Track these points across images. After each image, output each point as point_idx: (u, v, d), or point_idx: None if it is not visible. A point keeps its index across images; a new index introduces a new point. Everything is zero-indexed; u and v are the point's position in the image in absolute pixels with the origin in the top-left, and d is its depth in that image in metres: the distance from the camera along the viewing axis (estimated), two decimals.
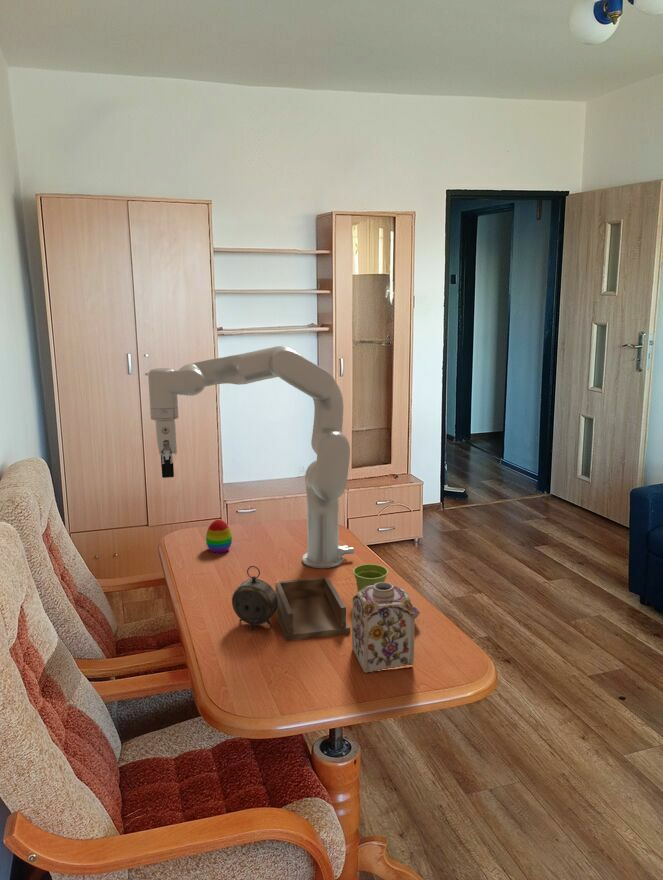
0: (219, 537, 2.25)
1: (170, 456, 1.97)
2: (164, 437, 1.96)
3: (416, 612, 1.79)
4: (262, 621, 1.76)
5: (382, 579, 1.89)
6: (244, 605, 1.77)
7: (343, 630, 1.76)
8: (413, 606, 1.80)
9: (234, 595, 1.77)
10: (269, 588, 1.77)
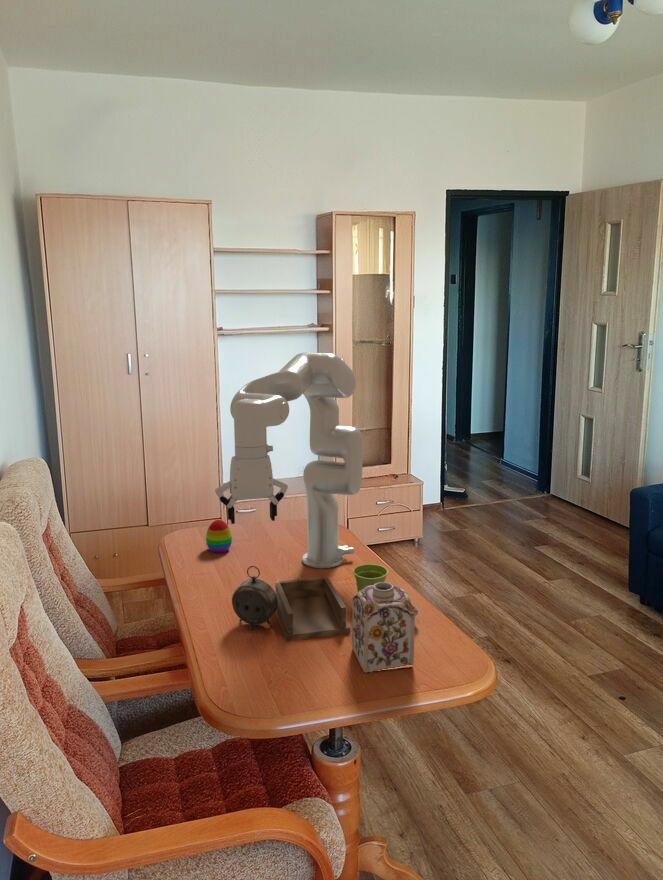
0: (219, 537, 2.25)
1: None
2: None
3: (414, 611, 1.79)
4: (262, 621, 1.76)
5: (382, 579, 1.89)
6: (244, 605, 1.77)
7: (343, 630, 1.76)
8: None
9: (234, 595, 1.77)
10: (269, 588, 1.77)
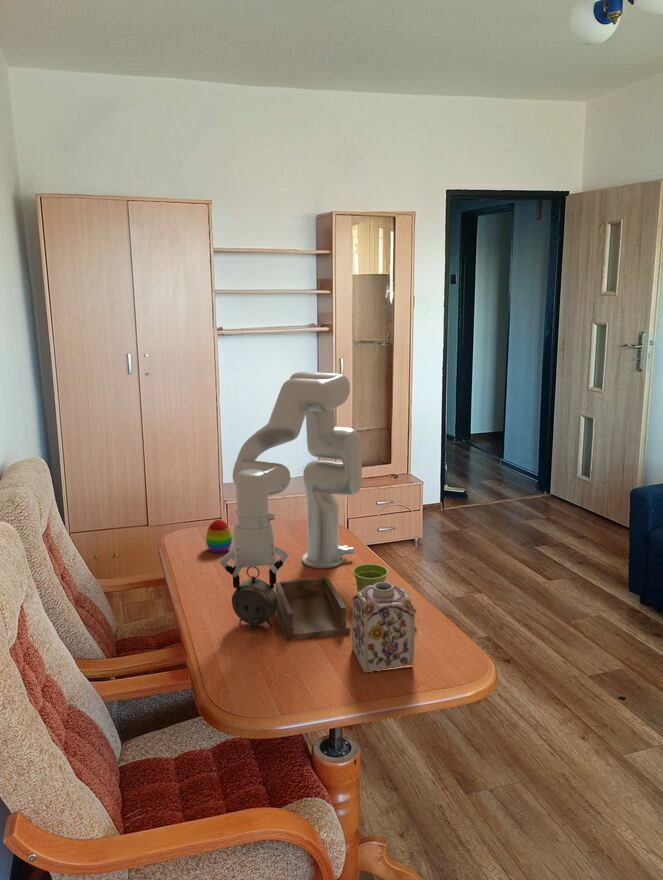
0: (219, 537, 2.25)
1: None
2: None
3: None
4: (262, 621, 1.76)
5: (382, 579, 1.89)
6: (244, 605, 1.77)
7: (343, 630, 1.76)
8: None
9: (234, 595, 1.77)
10: (269, 588, 1.77)
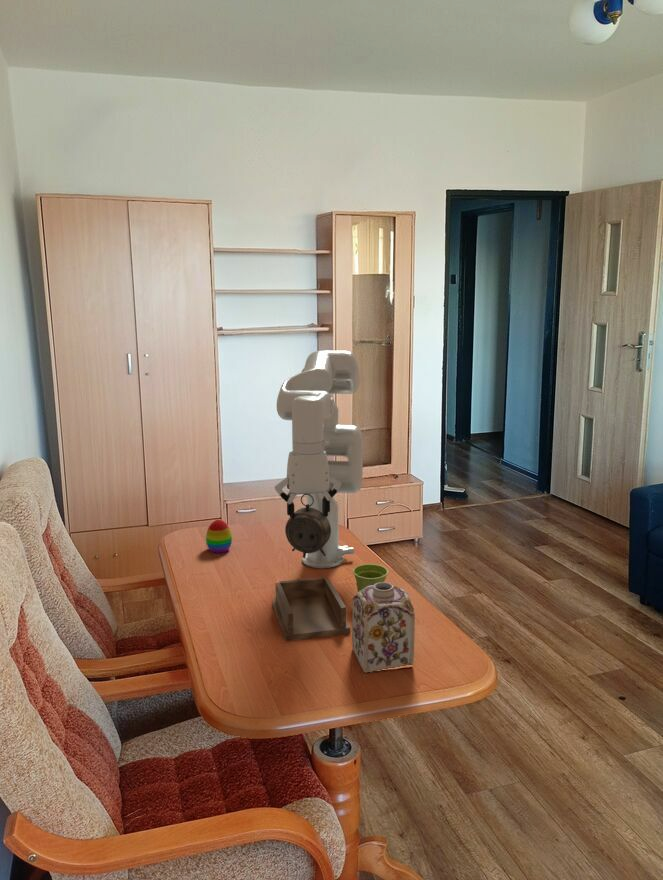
0: (219, 537, 2.25)
1: None
2: None
3: None
4: (316, 549, 1.77)
5: (382, 579, 1.89)
6: (298, 533, 1.77)
7: (343, 630, 1.76)
8: None
9: (288, 523, 1.78)
10: (323, 516, 1.77)
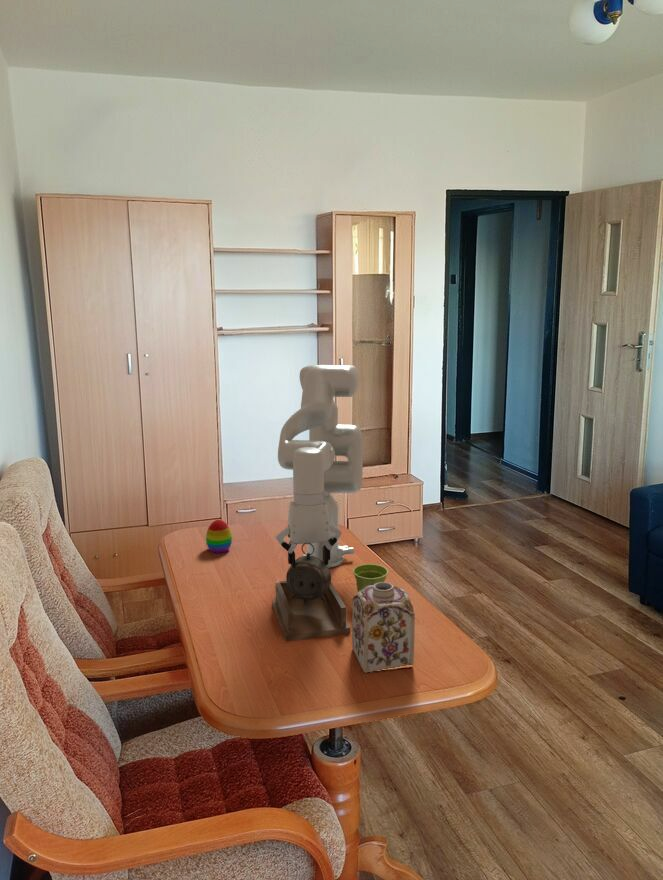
0: (219, 537, 2.25)
1: None
2: None
3: None
4: (316, 597, 1.80)
5: (382, 579, 1.89)
6: (298, 581, 1.80)
7: (343, 630, 1.76)
8: None
9: (289, 571, 1.80)
10: (323, 564, 1.80)
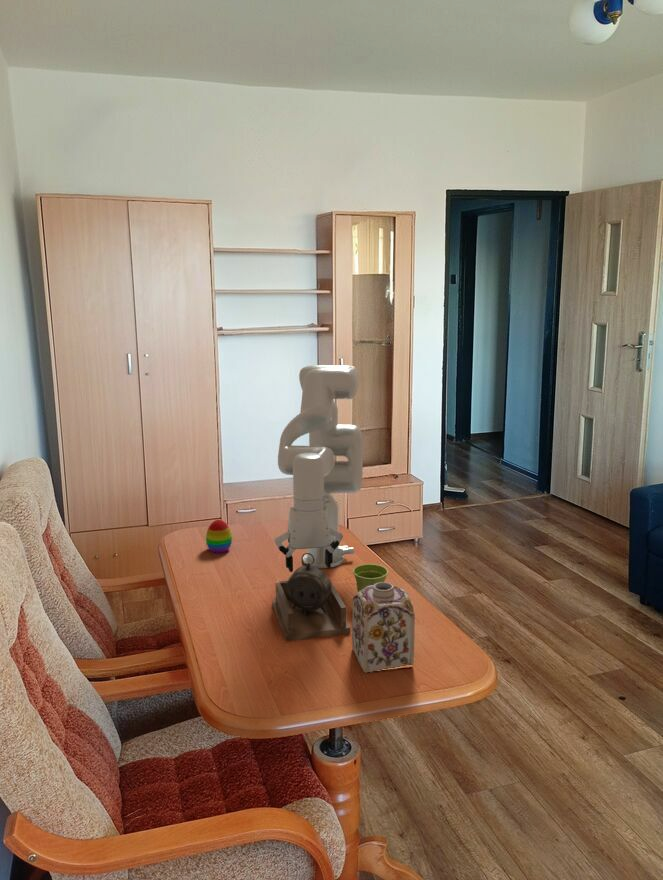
0: (219, 537, 2.25)
1: None
2: None
3: None
4: (317, 607, 1.80)
5: (382, 579, 1.89)
6: (299, 591, 1.81)
7: (343, 630, 1.76)
8: None
9: (289, 582, 1.81)
10: (323, 575, 1.81)
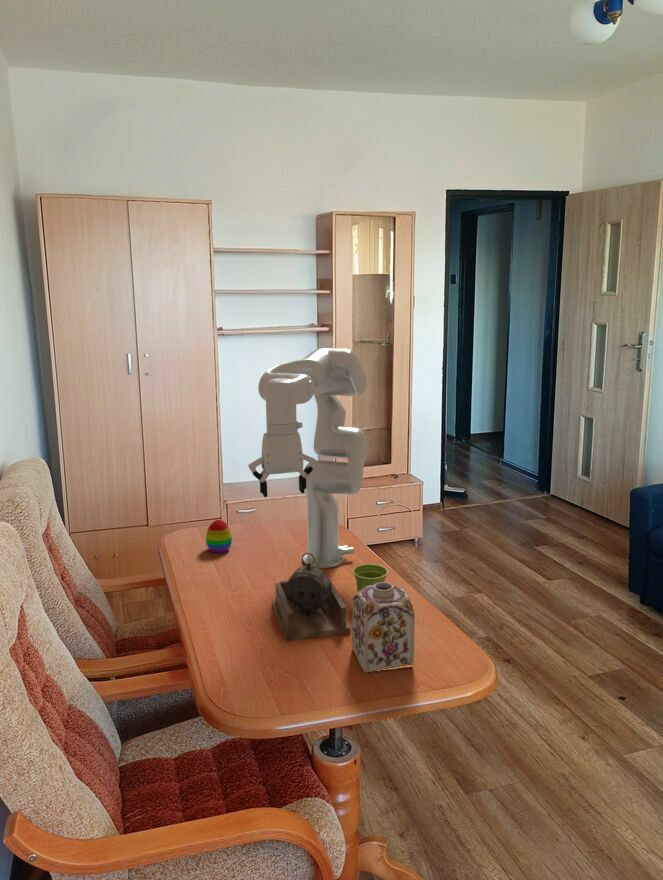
0: (219, 537, 2.25)
1: None
2: None
3: None
4: (317, 607, 1.80)
5: (382, 579, 1.89)
6: (299, 591, 1.81)
7: (343, 630, 1.76)
8: None
9: (289, 581, 1.81)
10: (323, 575, 1.81)
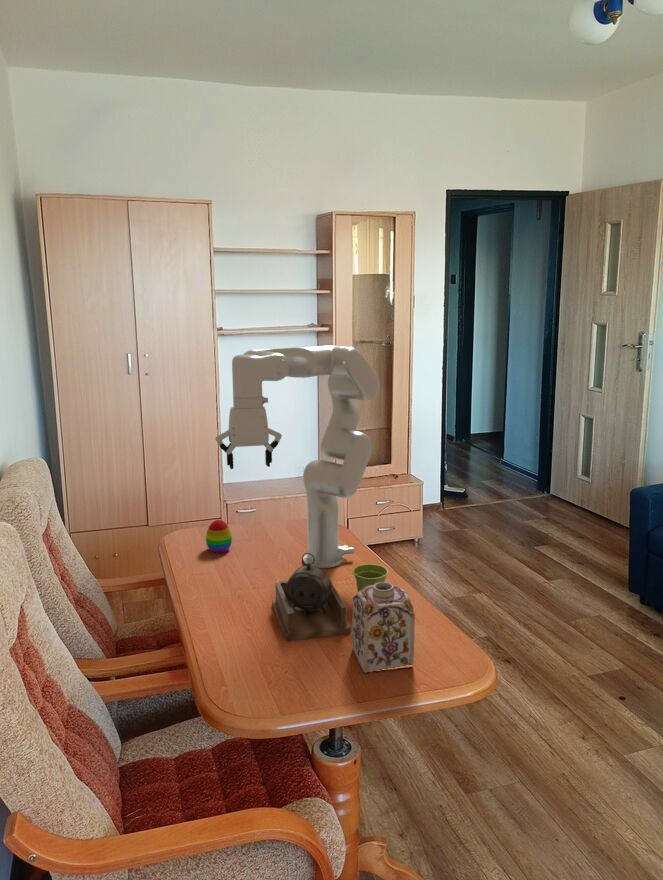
0: (219, 537, 2.25)
1: None
2: None
3: None
4: (317, 607, 1.80)
5: (382, 579, 1.89)
6: (299, 591, 1.81)
7: (343, 630, 1.76)
8: None
9: (289, 581, 1.81)
10: (323, 575, 1.81)
